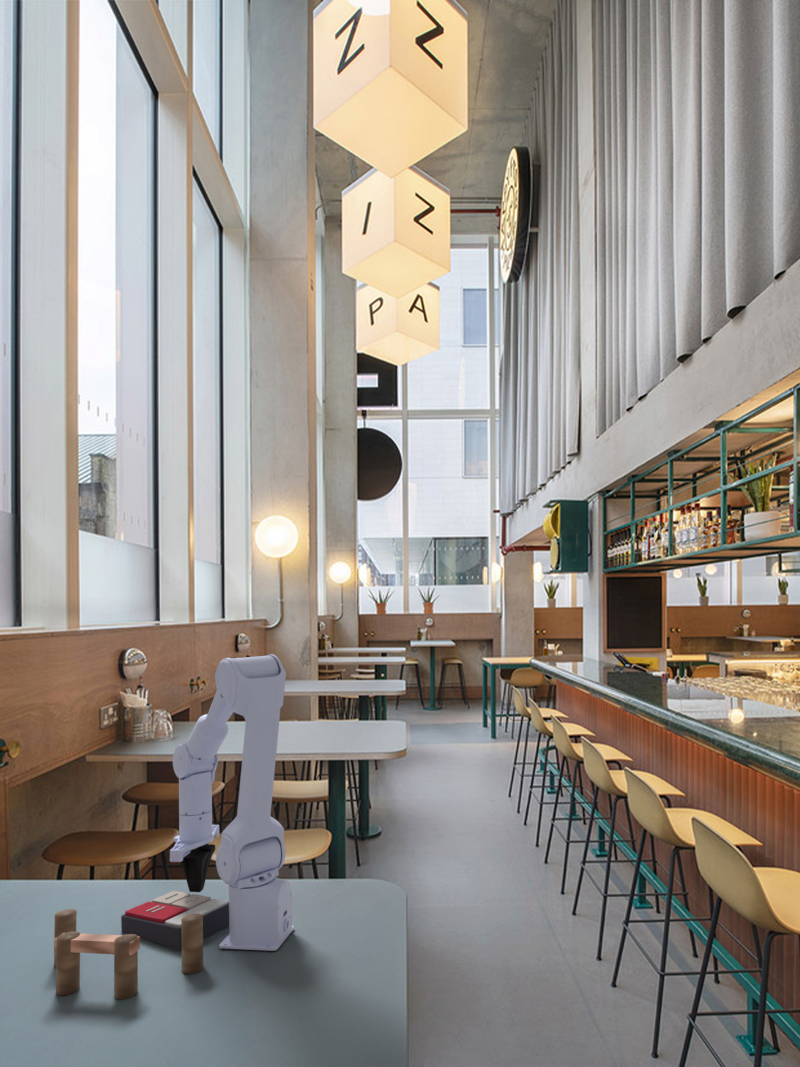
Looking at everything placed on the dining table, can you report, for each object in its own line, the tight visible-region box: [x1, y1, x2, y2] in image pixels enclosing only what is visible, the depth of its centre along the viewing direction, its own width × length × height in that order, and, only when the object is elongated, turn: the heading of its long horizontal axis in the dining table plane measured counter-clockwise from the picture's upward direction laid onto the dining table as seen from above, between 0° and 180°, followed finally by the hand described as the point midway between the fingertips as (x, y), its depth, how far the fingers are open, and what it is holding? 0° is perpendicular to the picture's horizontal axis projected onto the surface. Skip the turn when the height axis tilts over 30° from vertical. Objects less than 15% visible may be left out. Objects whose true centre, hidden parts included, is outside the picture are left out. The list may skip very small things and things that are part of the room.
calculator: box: [120, 890, 229, 952], centre depth 115 cm, size 11×4×15 cm
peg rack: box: [53, 908, 204, 1000], centre depth 99 cm, size 24×10×7 cm, turn 79°
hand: (196, 890), depth 123 cm, fingers closed
